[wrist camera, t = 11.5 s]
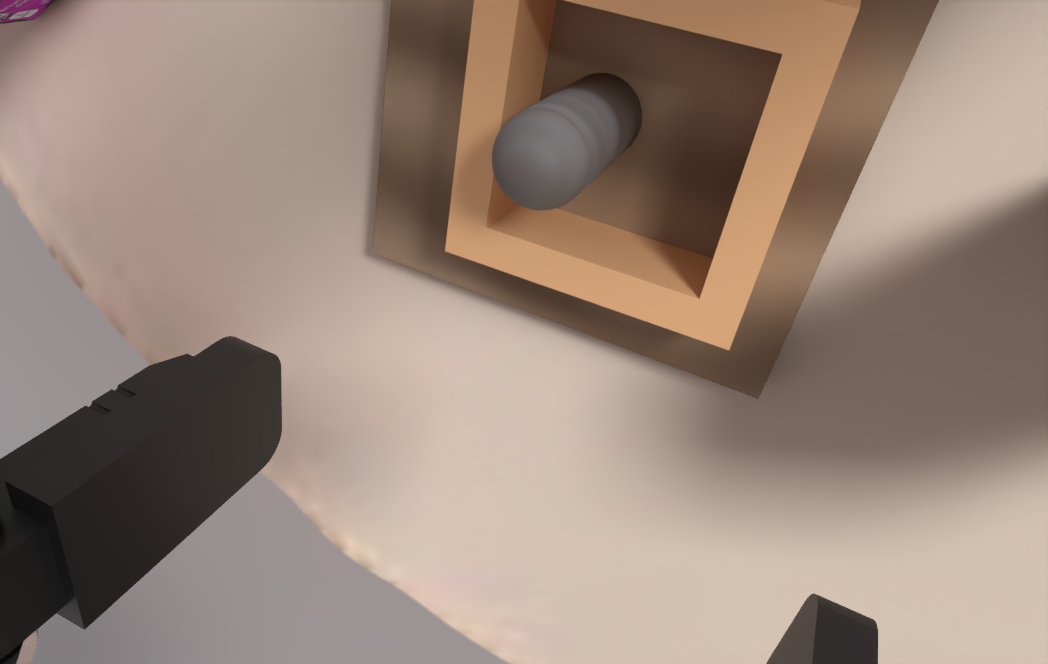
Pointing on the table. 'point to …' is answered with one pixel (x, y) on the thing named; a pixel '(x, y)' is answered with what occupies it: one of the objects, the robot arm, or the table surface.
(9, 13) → the candy bar box
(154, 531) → the robot arm
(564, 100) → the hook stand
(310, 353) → the table surface
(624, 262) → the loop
